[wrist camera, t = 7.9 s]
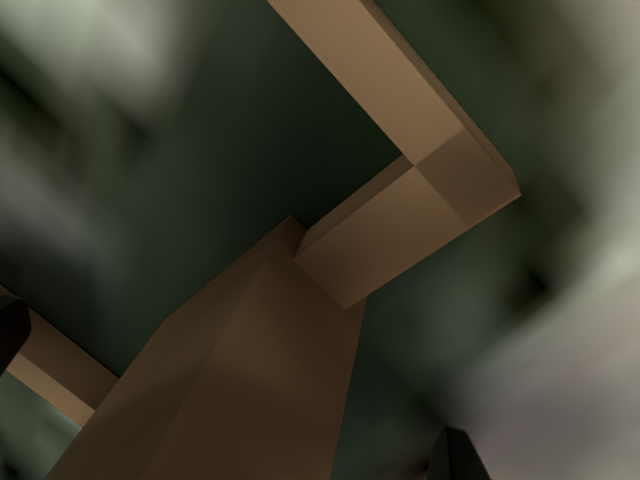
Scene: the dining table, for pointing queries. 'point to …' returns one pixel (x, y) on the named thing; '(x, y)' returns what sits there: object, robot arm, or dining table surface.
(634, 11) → the dining table surface
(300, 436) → the brown wooden piece
